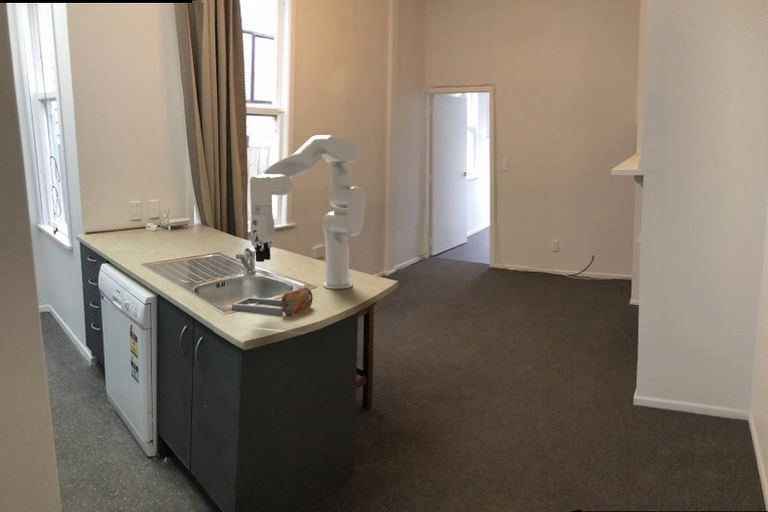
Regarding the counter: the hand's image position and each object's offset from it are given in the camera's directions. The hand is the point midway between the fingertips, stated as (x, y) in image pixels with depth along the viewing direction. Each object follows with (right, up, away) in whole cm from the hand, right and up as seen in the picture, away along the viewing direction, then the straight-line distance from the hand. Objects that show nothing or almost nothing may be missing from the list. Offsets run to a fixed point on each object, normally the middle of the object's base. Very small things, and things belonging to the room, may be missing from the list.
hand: (263, 260), depth 213 cm
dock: (0, -18, +3) cm, 19 cm away
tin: (+12, -19, 0) cm, 23 cm away
